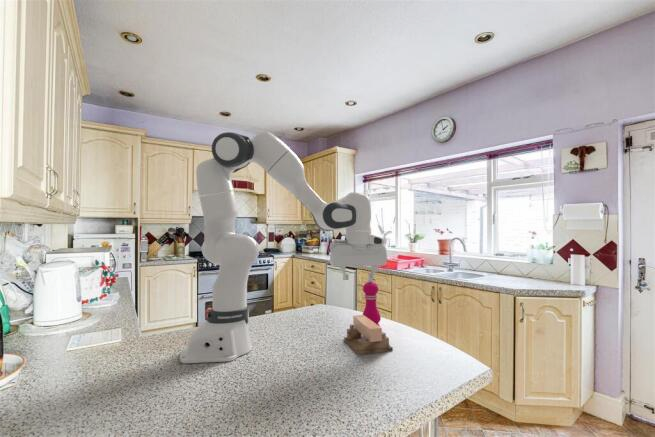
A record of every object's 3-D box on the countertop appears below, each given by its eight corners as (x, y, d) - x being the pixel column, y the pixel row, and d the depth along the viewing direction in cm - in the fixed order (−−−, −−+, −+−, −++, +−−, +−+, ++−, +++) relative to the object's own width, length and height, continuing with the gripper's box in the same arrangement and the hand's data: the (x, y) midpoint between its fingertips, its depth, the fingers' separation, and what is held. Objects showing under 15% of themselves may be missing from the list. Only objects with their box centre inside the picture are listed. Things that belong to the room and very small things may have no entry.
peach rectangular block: (370, 342, 100) (370, 329, 100) (353, 326, 115) (353, 315, 115) (382, 340, 101) (381, 328, 101) (363, 325, 116) (363, 314, 116)
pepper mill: (382, 332, 121) (380, 279, 121) (363, 332, 121) (362, 279, 122) (379, 326, 128) (378, 276, 129) (361, 326, 128) (360, 276, 129)
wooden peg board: (357, 355, 100) (357, 337, 100) (344, 340, 113) (343, 324, 113) (392, 350, 103) (392, 333, 103) (375, 336, 116) (374, 321, 116)
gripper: (332, 239, 105) (332, 281, 104) (388, 239, 110) (389, 279, 109) (327, 239, 111) (327, 279, 110) (381, 239, 116) (381, 276, 116)
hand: (358, 279), depth 110 cm, fingers open, 8 cm apart
